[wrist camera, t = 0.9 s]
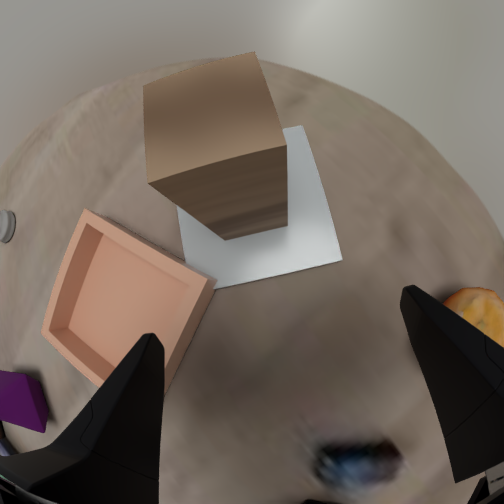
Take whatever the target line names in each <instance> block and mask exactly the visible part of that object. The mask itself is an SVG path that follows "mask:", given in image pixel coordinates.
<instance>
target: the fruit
mask: <svg viewBox="0 0 504 504" xmlns="http://www.w3.org/2000/svg"><path fill="white" fill-rule="evenodd" d="M443 304H444V305H445V306H447V307H448V308H450V309H451V310H452V311H454V312H455V313H457V314H458V315H460V316H461V317H462V318H464V319H465V320H467V321H468V322H469V323H471V324H472V325H473V326H475V327H476V328H478V329H479V330H480V331H482V332H483V333H484V335H485V334H486V335H487V336H489V337H490V338H491V339H493V340H494V341H495V342H497V343H498V344H499V345H501V346H502V347H504V303H503V301H502V300H501V299H500V298H499V297H498V296H497V294H496V293H495V292H494V291H492V290H489V289H484V288H480V287H476V288H462V289H460V290H459V291H458V292H456V293H455V294H453V295H452V296H450V297H449V298H448V299H447V300H446V301H445V302H444V303H443Z"/></svg>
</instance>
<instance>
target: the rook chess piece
mask: <svg viewBox="0 0 504 504" xmlns="http://www.w3.org/2000/svg"><path fill="white" fill-rule="evenodd" d="M14 229H15V217H14V216H13V214H12V212H11V211H8V212H7V211H6V210H2V211H0V241H1V242H3V243H6V242H7V241H9V240H10V239H11V237H12V235H13V233H14Z"/></svg>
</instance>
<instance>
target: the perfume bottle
mask: <svg viewBox="0 0 504 504" xmlns="http://www.w3.org/2000/svg"><path fill="white" fill-rule="evenodd" d="M48 412H49V410H48V407H47V405H46V402H45V398H44V395H43V392H42V389H41V385H40V382H39V381H37V380H35V379H33V378H32V377H30V376H28V375H26V374H22V373H15V372H8V371H2V370H0V420H1V421H6V422H9V423H12V424H16V425H19V426H22V427H25V428H28V429H31V430H34V431H37V432H41V433H45V430H46V423H47V418H48Z"/></svg>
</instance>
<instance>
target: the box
mask: <svg viewBox="0 0 504 504" xmlns="http://www.w3.org/2000/svg"><path fill="white" fill-rule="evenodd" d="M216 282H217V279H215V278H213V277H211V276H209V275H207V274H205V273H203V272H202V271H200V270H198V269H196V268H194V267H192V266H190V265H189V264H187V263H186V262H185V261H183V260H182V259H180V258H178V257H176V256H174V255H173V254H171V253H169V252H167V251H165V250H164V249H162V248H160V247H158V246H156V245H155V244H153V243H151V242H149V241H148V240H146V239H144V238H142V237H140V236H139V235H137V234H135V233H134V232H132V231H130V230H128V229H127V228H125V227H123V226H121V225H120V224H118V223H116V222H115V221H113V220H111V219H109V218H108V217H105V216H103V215H100V214H98V213H95V212H93V211H91V210H88V209H86V208H85V209H84V211H83V213H82V215H81V217H80V219H79V222H78V224H77V226H76V229H75V231H74V233H73V236H72V238H71V241H70V243H69V245H68V248H67V251H66V253H65V256H64V258H63V261H62V264H61V267H60V269H59V272H58V275H57V278H56V281H55V284H54V287H53V290H52V294H51V297H50V300H49V304H48V307H47V311H46V314H45V318H44V322H43V326H42V330H41V334H42V335H43V336H44V337H45V338H46V339H47V340H48V341H49V342H50V343H51V344H52V345H53V346H54V347H55V348H56V349H57V350H58V351H59V352H60V353H61V354H62V355H63V356H64V357H65V358H66V359H67V360H68V361H69V362H70V363H71V364H72V365H73V366H75V367H76V368H77V369H78V370H79V371H80V372H81V373H82V374H84V375H85V376H86V377H87V378H88V379H89V380H90V381H92V382H93V383H94V384H95V385H96V386H98V387H99V388H100V387H101V385H102V384H103V383H104V382H105V380H106V379H107V378H108V377H109V375H110V374H111V373H112V372H113V370H114V369H115V368H116V367H117V365H118V364H119V363H120V362H121V360H122V359H123V358H124V357H125V355H126V354H127V353H128V352H129V351H130V349H131V348H132V347H133V346H134V344H135V343H136V342H137V341H138V340H139V338H140V337H141V336H142V335H143V334H145V333H155V334H156V336H157V337H158V339H159V340H160V341H161V343H162V344H163V346H164V349H165V390H164V396H165V394H166V392H167V389H168V387H169V385H170V383H171V381H172V379H173V377H174V375H175V373H176V371H177V368H178V366H179V364H180V362H181V360H182V358H183V356H184V354H185V352H186V350H187V348H188V346H189V344H190V341H191V339H192V337H193V335H194V333H195V331H196V329H197V327H198V325H199V323H200V321H201V319H202V317H203V315H204V313H205V311H206V309H207V307H208V305H209V303H210V301H211V299H212V297H213V294H214V292H215V290H216V289H213V288H214V286H215V284H216Z"/></svg>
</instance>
